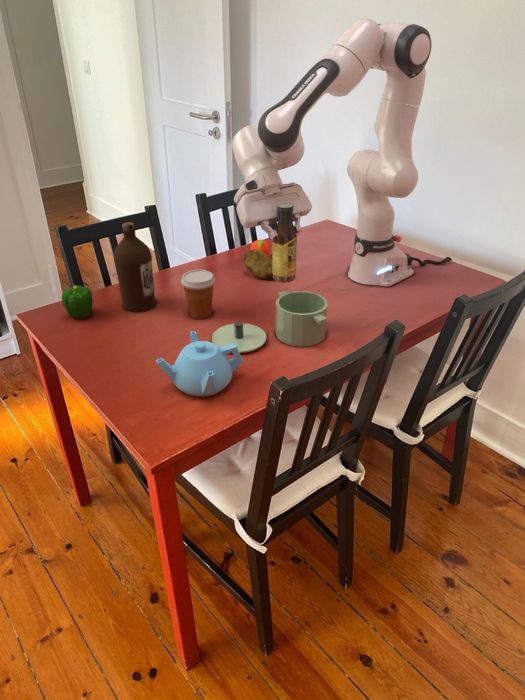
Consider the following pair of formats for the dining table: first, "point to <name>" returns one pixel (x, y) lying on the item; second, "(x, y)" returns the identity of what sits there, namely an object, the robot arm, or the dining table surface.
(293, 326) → the pot
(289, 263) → the sauce bottle
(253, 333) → the lid
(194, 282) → the disposable coffee cup
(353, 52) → the robot arm
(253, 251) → the potato
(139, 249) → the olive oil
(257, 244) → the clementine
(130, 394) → the dining table surface
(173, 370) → the teapot
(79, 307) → the bell pepper
